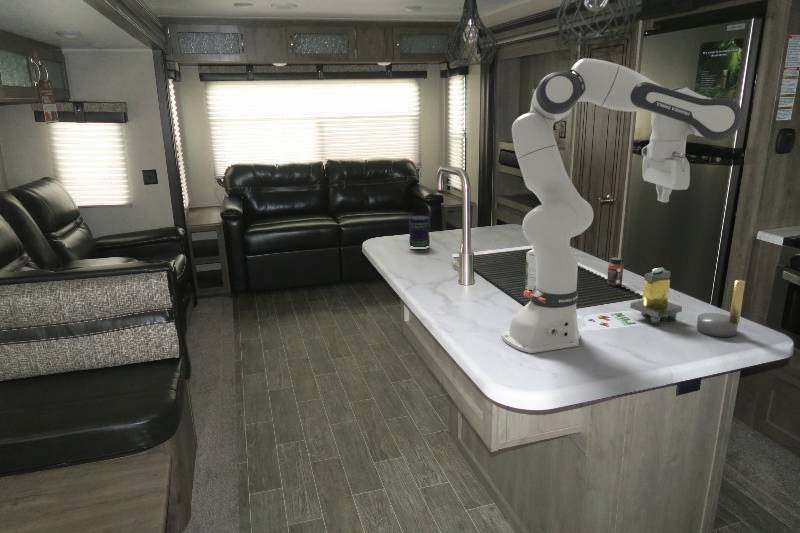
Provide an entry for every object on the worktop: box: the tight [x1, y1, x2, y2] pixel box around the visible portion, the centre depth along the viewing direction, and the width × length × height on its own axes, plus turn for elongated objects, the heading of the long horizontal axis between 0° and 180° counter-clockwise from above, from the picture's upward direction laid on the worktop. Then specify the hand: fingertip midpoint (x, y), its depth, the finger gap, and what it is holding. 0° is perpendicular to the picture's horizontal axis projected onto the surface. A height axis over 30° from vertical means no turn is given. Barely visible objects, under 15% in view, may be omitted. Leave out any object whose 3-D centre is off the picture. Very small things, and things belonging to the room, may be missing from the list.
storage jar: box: [408, 215, 431, 247], centre depth 260 cm, size 10×10×15 cm
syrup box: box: [524, 248, 536, 292], centre depth 194 cm, size 6×6×14 cm
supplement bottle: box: [606, 256, 624, 287], centre depth 197 cm, size 5×5×10 cm
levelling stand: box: [630, 267, 683, 327], centre depth 163 cm, size 10×10×16 cm
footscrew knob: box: [696, 279, 746, 338], centre depth 153 cm, size 10×10×15 cm
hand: (662, 201), depth 150 cm, fingers closed
